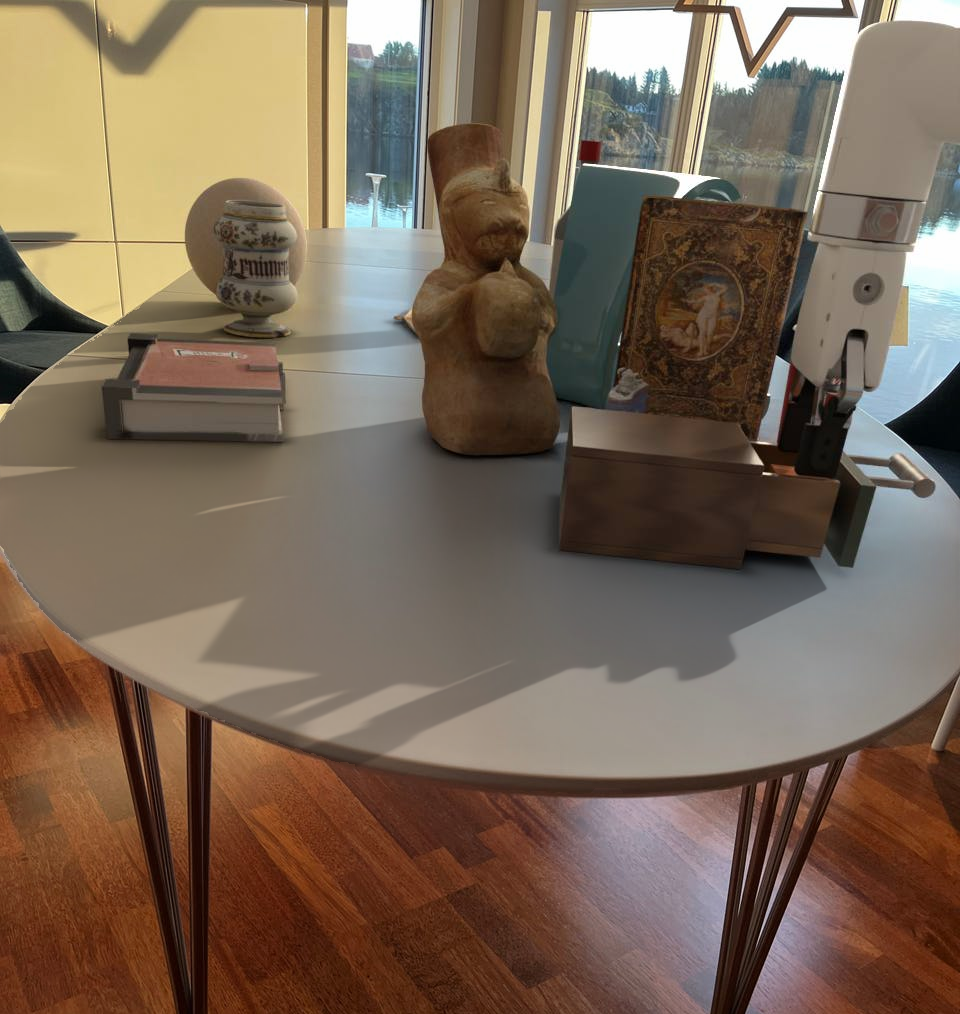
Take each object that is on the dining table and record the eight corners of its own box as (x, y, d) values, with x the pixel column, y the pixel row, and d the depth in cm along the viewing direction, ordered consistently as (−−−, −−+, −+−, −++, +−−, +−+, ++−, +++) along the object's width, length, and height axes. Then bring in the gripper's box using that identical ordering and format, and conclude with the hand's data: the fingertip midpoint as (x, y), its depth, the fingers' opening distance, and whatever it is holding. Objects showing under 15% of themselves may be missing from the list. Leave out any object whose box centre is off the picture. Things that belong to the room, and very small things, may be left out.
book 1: (290, 442, 95) (289, 392, 93) (107, 438, 91) (101, 386, 89) (281, 380, 118) (280, 339, 115) (134, 375, 114) (130, 333, 112)
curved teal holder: (574, 370, 137) (590, 157, 123) (772, 391, 130) (813, 168, 116) (526, 422, 115) (539, 171, 101) (760, 451, 108) (809, 186, 94)
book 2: (750, 449, 107) (803, 209, 96) (755, 463, 102) (812, 212, 91) (606, 432, 109) (641, 194, 97) (605, 445, 104) (642, 196, 92)
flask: (615, 494, 89) (633, 380, 84) (585, 488, 90) (601, 375, 85) (637, 469, 97) (654, 363, 92) (610, 464, 98) (625, 359, 93)
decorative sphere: (325, 315, 161) (326, 186, 152) (210, 317, 151) (203, 179, 142) (282, 295, 176) (280, 176, 166) (174, 296, 166) (165, 169, 156)
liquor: (545, 325, 171) (566, 138, 157) (544, 316, 179) (563, 138, 165) (595, 329, 171) (620, 143, 157) (592, 321, 179) (615, 143, 165)
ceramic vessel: (440, 464, 93) (461, 118, 79) (377, 407, 110) (385, 115, 96) (581, 458, 99) (625, 134, 85) (500, 404, 116) (525, 129, 102)
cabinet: (718, 515, 86) (737, 422, 82) (740, 569, 75) (764, 465, 71) (559, 498, 87) (571, 405, 83) (558, 550, 76) (572, 445, 72)
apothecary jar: (260, 343, 137) (257, 207, 128) (199, 329, 141) (192, 198, 133) (313, 333, 146) (313, 206, 138) (254, 321, 151) (251, 198, 143)
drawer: (878, 524, 85) (901, 446, 82) (920, 575, 75) (948, 488, 71) (669, 503, 86) (684, 424, 82) (683, 550, 75) (701, 463, 72)
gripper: (960, 239, 61) (881, 503, 69) (881, 221, 76) (825, 439, 85) (843, 228, 61) (779, 492, 70) (788, 212, 76) (741, 431, 85)
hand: (805, 461), depth 77 cm, fingers open, 5 cm apart
